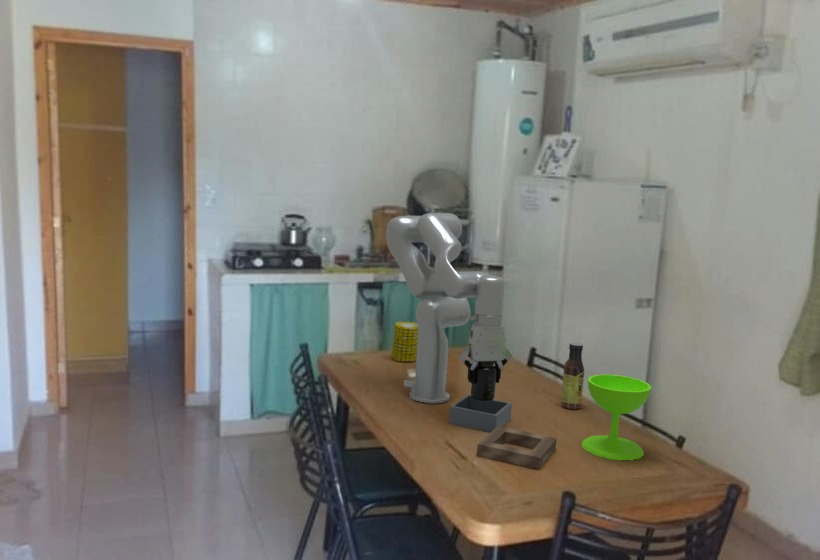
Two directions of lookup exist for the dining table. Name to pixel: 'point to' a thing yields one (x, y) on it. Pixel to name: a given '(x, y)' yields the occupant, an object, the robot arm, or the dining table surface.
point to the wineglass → (616, 414)
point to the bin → (480, 413)
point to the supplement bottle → (484, 381)
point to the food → (405, 341)
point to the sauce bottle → (573, 378)
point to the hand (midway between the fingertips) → (483, 381)
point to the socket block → (534, 458)
